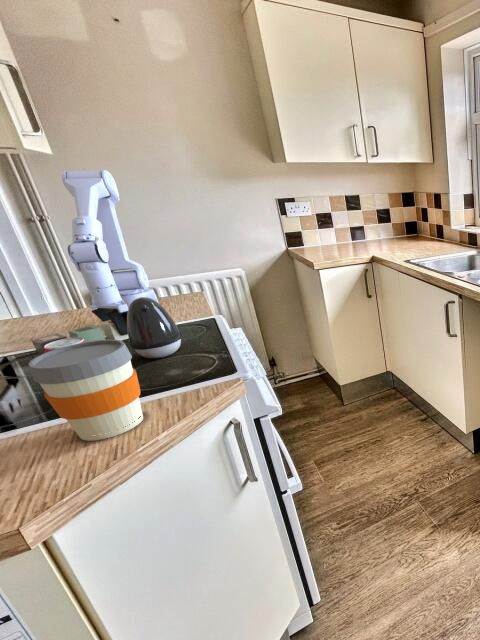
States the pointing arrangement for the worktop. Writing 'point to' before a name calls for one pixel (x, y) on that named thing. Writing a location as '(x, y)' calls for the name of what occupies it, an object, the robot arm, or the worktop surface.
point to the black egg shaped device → (151, 329)
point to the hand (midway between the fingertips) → (120, 332)
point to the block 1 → (46, 342)
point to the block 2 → (88, 333)
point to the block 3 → (112, 331)
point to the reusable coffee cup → (91, 387)
